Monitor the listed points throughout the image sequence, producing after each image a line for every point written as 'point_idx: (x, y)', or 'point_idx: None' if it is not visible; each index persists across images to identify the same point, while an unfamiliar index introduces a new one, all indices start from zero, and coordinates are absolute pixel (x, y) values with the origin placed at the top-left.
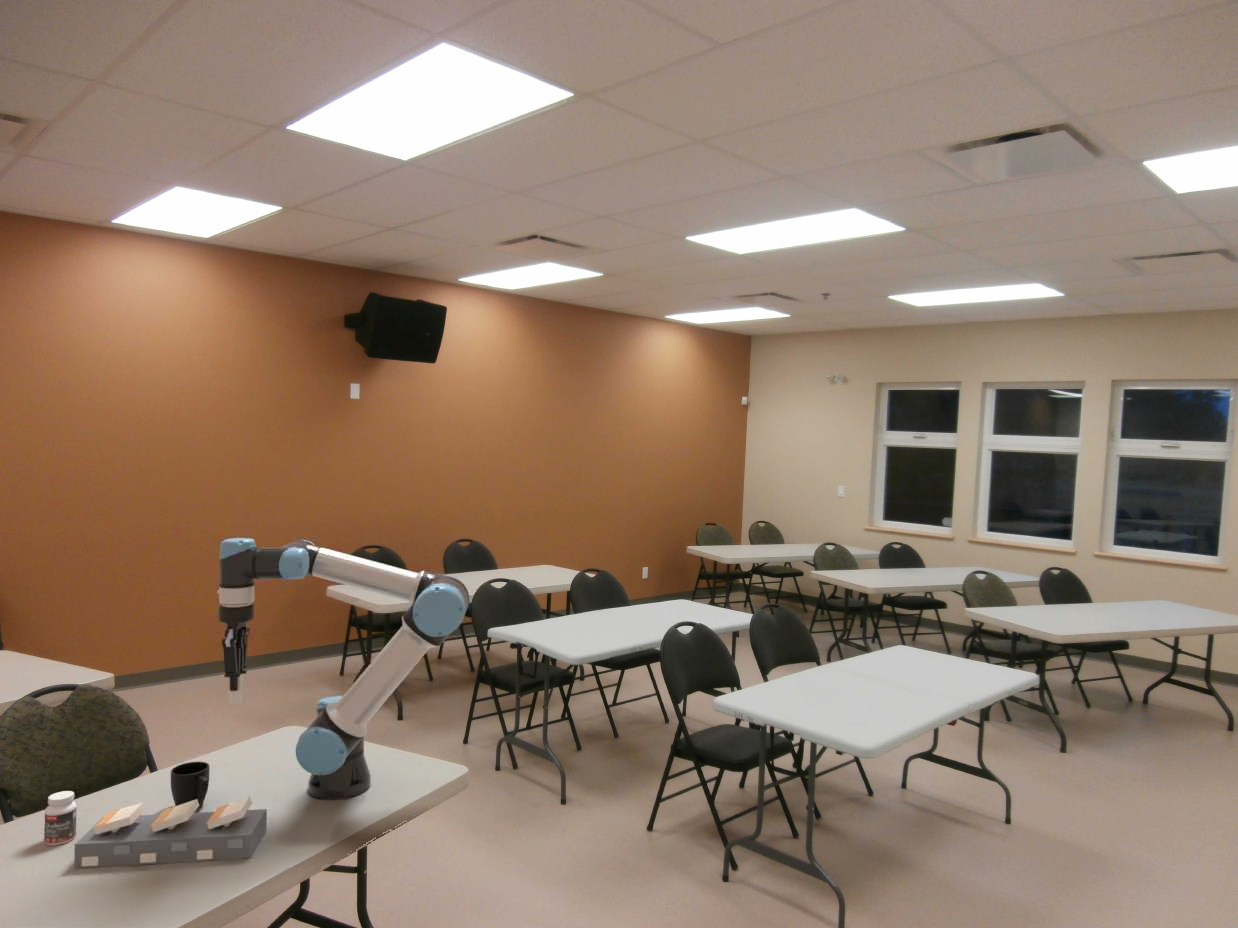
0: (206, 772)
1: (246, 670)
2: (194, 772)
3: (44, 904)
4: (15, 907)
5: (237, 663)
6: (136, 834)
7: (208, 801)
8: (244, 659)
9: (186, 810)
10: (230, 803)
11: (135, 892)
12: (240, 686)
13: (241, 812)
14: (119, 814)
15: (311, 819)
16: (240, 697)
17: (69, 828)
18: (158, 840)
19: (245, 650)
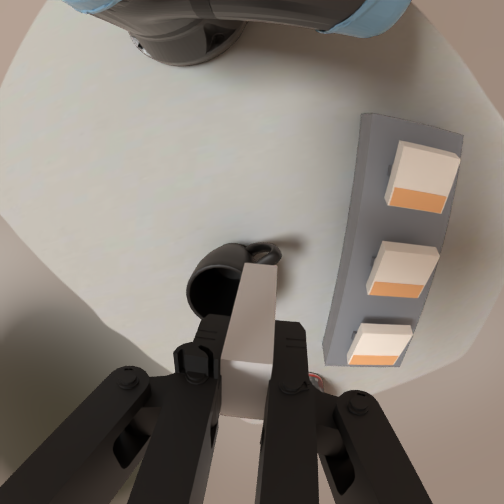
0: (232, 262)
1: (178, 354)
2: (195, 285)
3: (455, 341)
4: (447, 361)
5: (314, 476)
6: (403, 309)
7: (214, 237)
8: (113, 430)
9: (426, 256)
10: (395, 183)
11: (476, 264)
12: (274, 317)
13: (456, 156)
14: (379, 350)
15: (330, 41)
16: (274, 280)
17: (318, 385)
18: (433, 274)
19: (62, 487)
